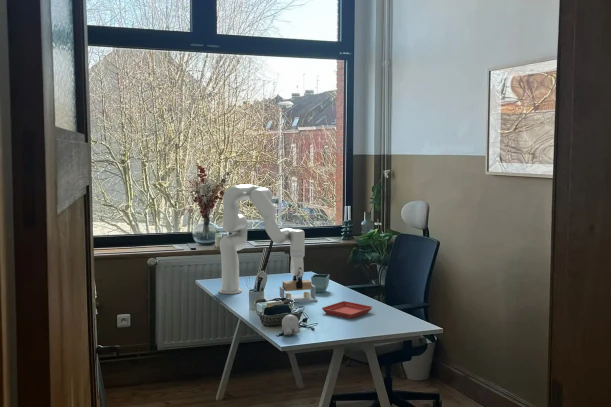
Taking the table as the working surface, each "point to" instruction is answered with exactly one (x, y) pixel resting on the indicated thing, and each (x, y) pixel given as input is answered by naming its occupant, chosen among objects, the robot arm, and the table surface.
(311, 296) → the peg stand
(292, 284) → the plank
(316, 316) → the table surface
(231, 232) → the robot arm
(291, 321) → the round bodied animal figurine
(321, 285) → the flower pot
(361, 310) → the plant saucer
